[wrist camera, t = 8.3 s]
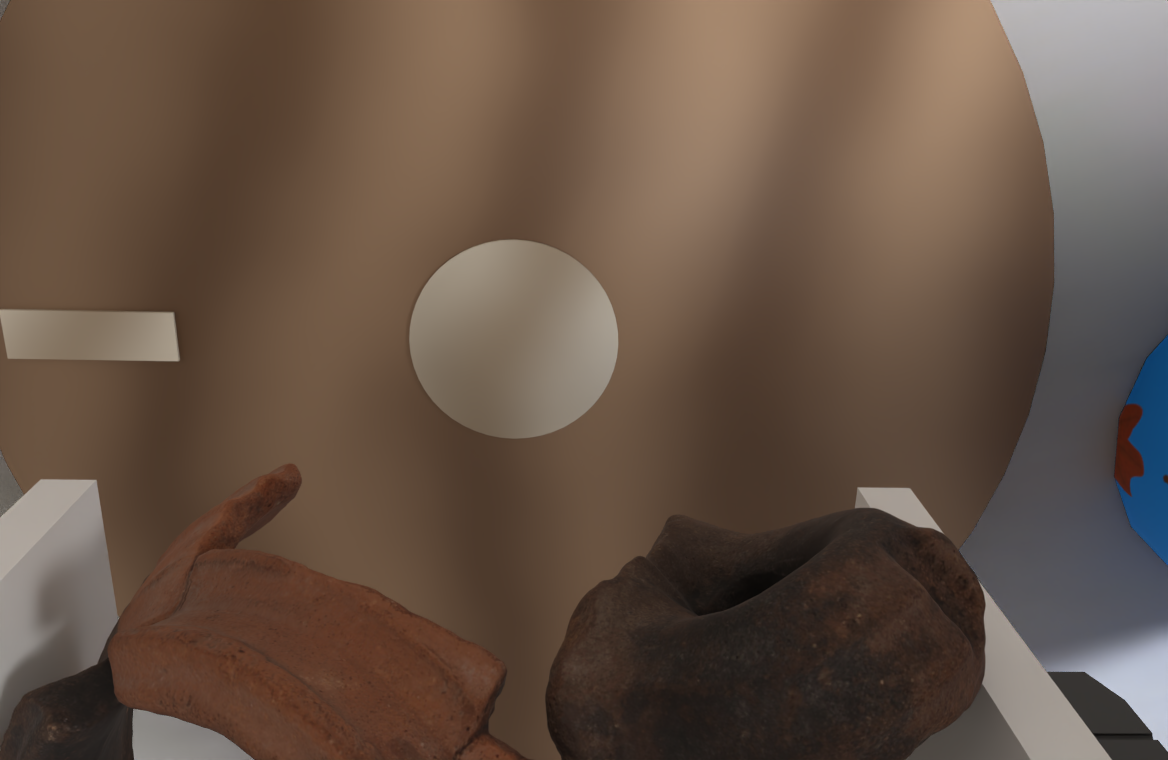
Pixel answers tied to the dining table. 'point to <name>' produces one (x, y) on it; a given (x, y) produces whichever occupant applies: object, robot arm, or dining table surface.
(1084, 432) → the dining table surface
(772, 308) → the disc
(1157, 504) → the thermos
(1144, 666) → the dining table surface
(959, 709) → the pottery mug
